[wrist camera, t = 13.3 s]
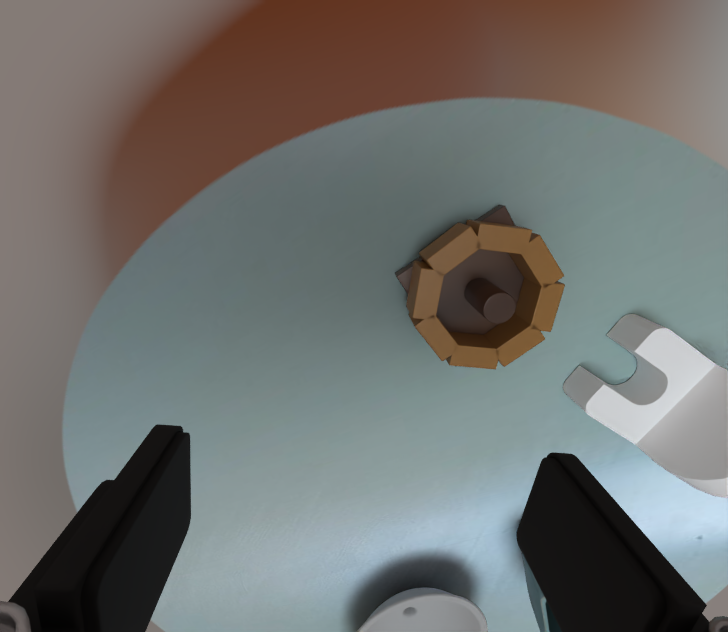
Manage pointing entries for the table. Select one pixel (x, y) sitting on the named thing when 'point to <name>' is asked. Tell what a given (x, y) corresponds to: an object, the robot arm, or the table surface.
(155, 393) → the table surface
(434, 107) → the table surface
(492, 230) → the segmented block ring
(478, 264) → the peg stand
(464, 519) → the table surface
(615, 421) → the white slotted bracket
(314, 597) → the table surface
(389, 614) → the dish
